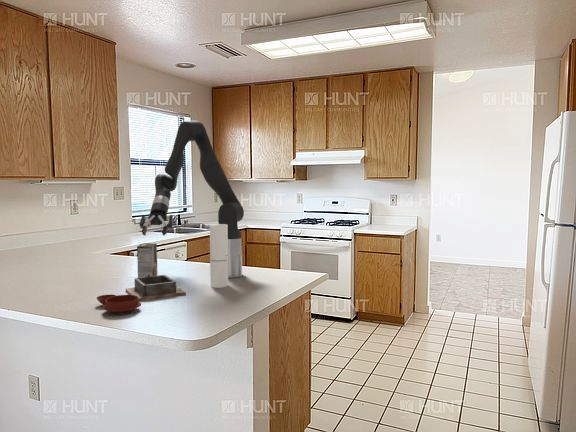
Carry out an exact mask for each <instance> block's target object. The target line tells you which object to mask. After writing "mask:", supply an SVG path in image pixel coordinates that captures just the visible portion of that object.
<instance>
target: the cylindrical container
mask: <svg viewBox="0 0 576 432" xmlns="http://www.w3.org/2000/svg"><path fill="white" fill-rule="evenodd" d="M209 263H210V264H209V265H210V267H209V268H210V273H209V275H210V280H209V281H210V287H211V288H213V289H214V288H217V289H218V288H219V289H222V288H227V287H228V286H229V278H228V225H227V224H219V223H213V224H209Z"/></svg>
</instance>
